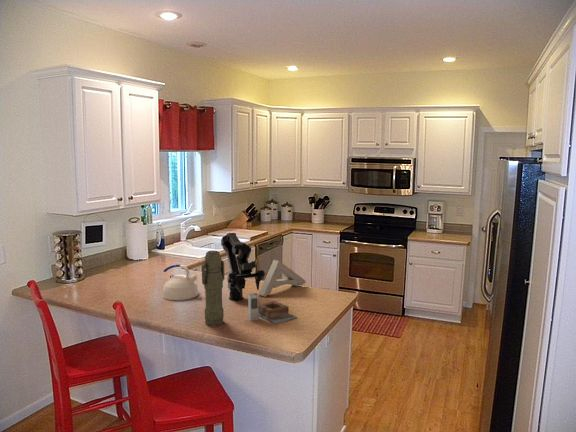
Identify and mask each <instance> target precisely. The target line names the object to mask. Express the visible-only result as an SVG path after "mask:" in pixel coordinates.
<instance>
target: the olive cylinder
mask: <svg viewBox="0 0 576 432" xmlns="http://www.w3.org/2000/svg"><path fill="white" fill-rule="evenodd" d="M225 277H226V276H225V262H224V260H222V257H221V254H220V251H218V250H208V251H206V252H205V256H204V261H203V263H202V264H201V282H202V286H203V288H204V290H205V292H204V293H205V298H204V299H205V308H204V319H205V322H204V323H205V325H206V326H209V327H218V326H220V325H223V324H224V316H225V315H224V307H223V287H224V280H225Z"/></svg>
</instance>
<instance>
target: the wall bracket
mask: <svg viewBox="0 0 576 432" xmlns="http://www.w3.org/2000/svg"><path fill="white" fill-rule="evenodd" d="M279 274H282V275H283V276H284V277H286V278H279V279H278V277H279ZM304 284H306V280H305V279H304V278H303V277H301V276H300V275H299V274H297V273H296V272H295V271H294V270H293V269H291V268H289V267H288V266H287V265H285V264H284V263H283V262H281V261H280V260H277V259H273V260H272V263H271V265H270V268H269V269H268V272H267V274H266V277H264V281H263V283H262V285H261V286H260V289H259V291H258V296H261V297H264V298H267V296H268V295H270V294H271V292H272V291H273V288H274V289H276V288H278V287H281V286H284V285H285V286H286V285H291V286H295V287H299V286H303V285H304Z"/></svg>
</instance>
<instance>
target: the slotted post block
mask: <svg viewBox="0 0 576 432" xmlns="http://www.w3.org/2000/svg"><path fill="white" fill-rule="evenodd" d="M289 309H290V308H289V306H288V305H286V304H283V303H280V302H278V301H276V300H272V301H269V302H266V303H265V302H264V303H261V304H258V318H259V317H260V318H261V319H264V320H265V321H268V322H270V323H272V324H274V325H279V324H282V323H285V322H289V321H292V320H295V319H297V318H298V316H296V315H294V314H291V313H289Z"/></svg>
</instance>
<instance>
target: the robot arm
mask: <svg viewBox="0 0 576 432" xmlns="http://www.w3.org/2000/svg"><path fill="white" fill-rule="evenodd" d="M220 241H221V242H220V244H221V246H222V249H223V251H225V252H226V254H227V255H226V256H227V259H228V260H227V261H228V264H229V269H230V272H229V273H228V275H227V289H228V290H229V297H228V300H231V301H233V302H237V301H242V300H244V299H245V297H243V294H244V293H243V289H245V287H246V282H247V281H246V279H249V278H254V279H255V280H254V281H255V286H256V290H257V291H260V282H261V281H263V279H265V275H266V273H265V271H264V270H263V269H259V270H256V271H255V272H254V273H252V272H253V270H254V269H255V268H257V263H256V261H254V260H253V261H251V262H249V260H248V259H249V258H250V255H251V252H252V248H251V246H250V245H248V244H247V243H246V242H244V241H243V242H242V241H240V239H239V237H238V236H237V233H236V232H228V233H226V234H225V236H224V235H223V237H221V239H220Z"/></svg>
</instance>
